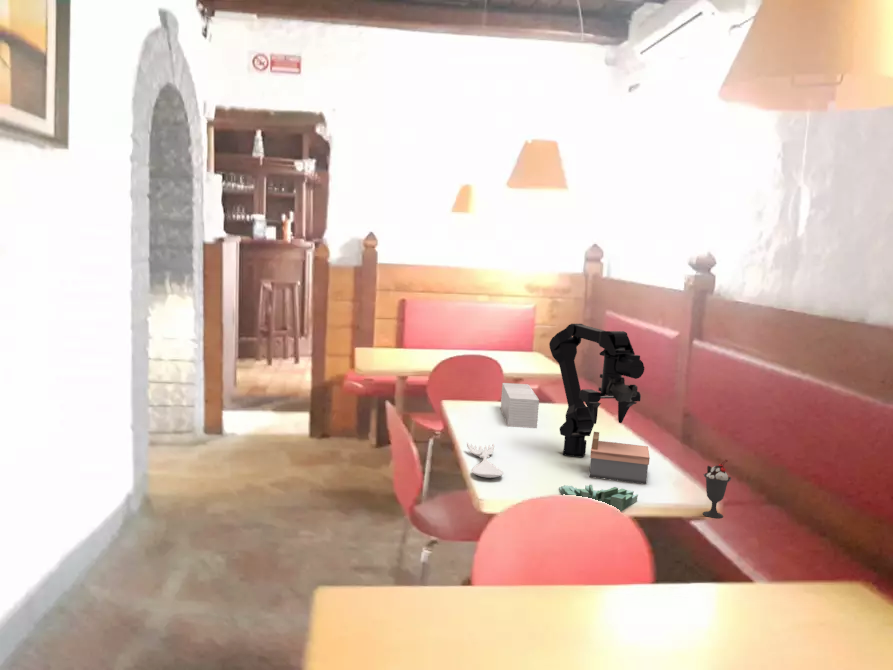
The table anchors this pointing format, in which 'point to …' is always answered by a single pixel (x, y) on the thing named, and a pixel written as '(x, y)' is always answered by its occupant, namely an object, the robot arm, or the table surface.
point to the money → (603, 495)
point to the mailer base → (618, 470)
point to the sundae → (715, 487)
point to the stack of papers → (519, 405)
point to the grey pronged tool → (484, 463)
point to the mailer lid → (619, 451)
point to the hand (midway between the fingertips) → (607, 423)
